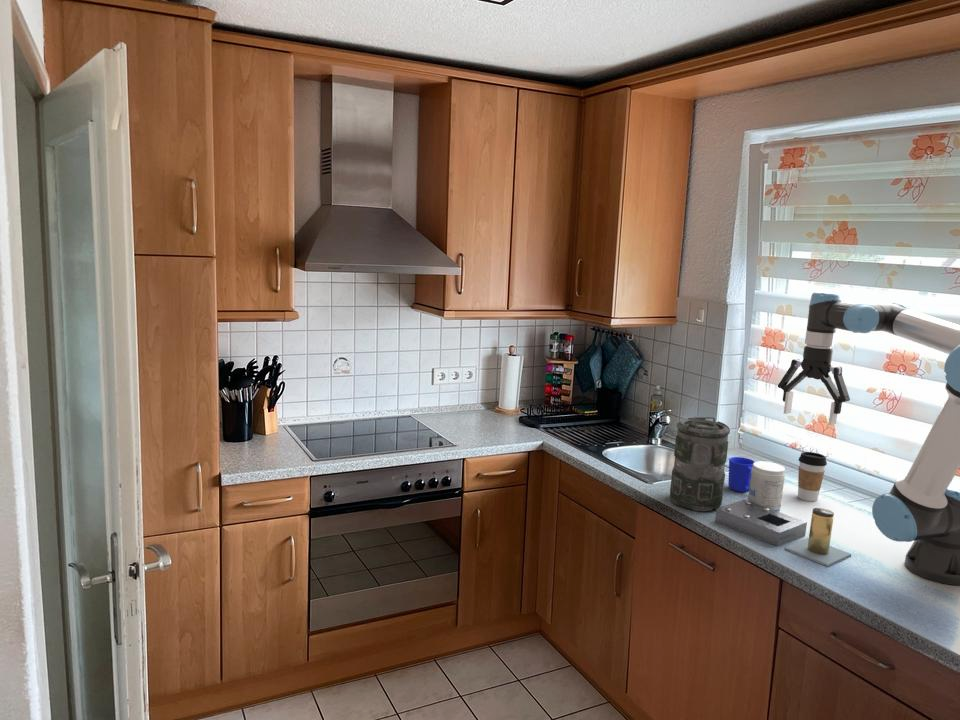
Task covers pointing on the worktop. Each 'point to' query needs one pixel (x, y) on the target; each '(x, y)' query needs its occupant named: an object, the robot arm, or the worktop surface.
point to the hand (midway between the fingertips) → (809, 418)
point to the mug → (740, 473)
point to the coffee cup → (810, 475)
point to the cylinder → (820, 531)
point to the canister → (699, 464)
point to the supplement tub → (767, 484)
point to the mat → (827, 559)
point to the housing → (761, 522)
